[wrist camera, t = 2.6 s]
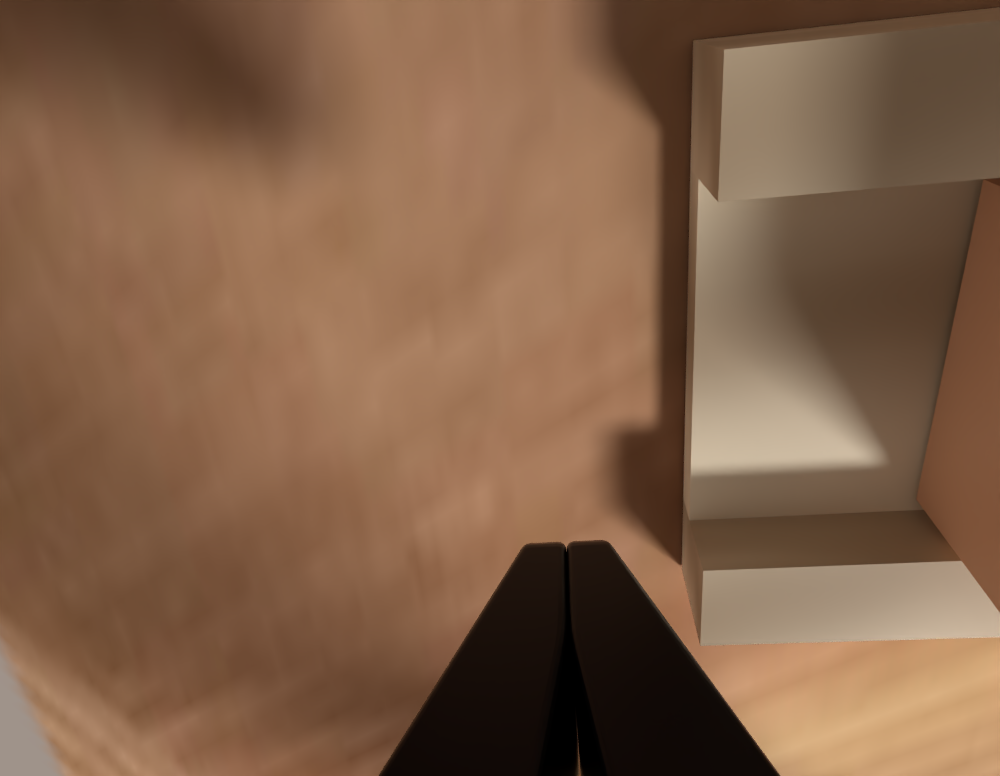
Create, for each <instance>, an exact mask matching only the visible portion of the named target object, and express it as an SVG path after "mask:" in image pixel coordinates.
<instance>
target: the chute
mask: <svg viewBox="0 0 1000 776" xmlns="http://www.w3.org/2000/svg"><path fill="white" fill-rule="evenodd" d="M993 178H1000V7H996V8H987V9H978V10H969V11H960V12H950V13H941V14H932V15H923V16H913V17H904V18H895V19H886V20H876V21H867V22H858V23H849V24H839V25H830V26H821V27H812V28H802V29H793V30H784V31H775V32H765V33H756V34H747V35H738V36H728V37H719V38H710V39H701V40H693V71H692V118H691V164H690V210H689V256H688V303H687V349H686V395H685V442H684V488H683V534H682V571H683V576H684V580H685V584H686V588H687V592H688V597H689V601H690V605H691V609H692V613H693V617H694V622H695V626H696V630H697V634H698V638H699V643H700V646H708V645H743V644H777V643H812V642H847V641H882V640H916V639H951V638H986V637H1000V612H999V611H998V610H997V608H996V607H995V606H994V604H993V603H992V601H991V600H990V599H989V597H988V596H987V595H986V593H985V592H984V591H983V589H982V588H981V587H980V585H979V584H978V583H977V581H976V580H975V578H974V577H973V576H972V574H971V573H970V572H969V570H968V569H967V568H966V566H965V565H964V564H963V562H962V561H961V559H960V558H959V557H958V555H957V554H956V553H955V551H954V550H953V549H952V547H951V546H950V545H949V543H948V542H947V540H946V539H945V538H944V536H943V535H942V534H941V532H940V531H939V530H938V528H937V527H936V526H935V524H934V523H933V521H932V520H931V519H930V517H929V516H928V515H927V513H926V512H925V511H924V509H923V508H922V507H921V505H920V504H919V502H918V501H917V500H916V497H917V493H918V488H919V483H920V478H921V474H922V469H923V464H924V459H925V454H926V450H927V445H928V440H929V435H930V431H931V426H932V421H933V416H934V412H935V407H936V402H937V397H938V393H939V388H940V383H941V378H942V374H943V369H944V364H945V359H946V355H947V350H948V345H949V340H950V335H951V331H952V326H953V321H954V316H955V312H956V307H957V302H958V297H959V293H960V288H961V283H962V278H963V274H964V269H965V264H966V259H967V255H968V250H969V245H970V240H971V236H972V231H973V226H974V221H975V216H976V212H977V207H978V202H979V197H980V193H981V188H982V183H983V179H993Z"/></svg>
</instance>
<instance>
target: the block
mask: <svg viewBox="0 0 1000 776" xmlns="http://www.w3.org/2000/svg"><path fill="white" fill-rule="evenodd" d="M916 500H917V501H918V502H919V504H920V505H921V507H922V508H923V509H924V511H925V512H926V513H927V515H928V516H929V517H930V519H931V520H932V521H933V523H934V524H935V526H936V527H937V528H938V530H939V531H940V532H941V534H942V535H943V536H944V538H945V539H946V540H947V542H948V543H949V545H950V546H951V547H952V549H953V550H954V551H955V553H956V554H957V555H958V557H959V558H960V559H961V561H962V562H963V564H964V565H965V566H966V568H967V569H968V570H969V572H970V573H971V574H972V576H973V577H974V578H975V580H976V581H977V583H978V584H979V585H980V587H981V588H982V589H983V591H984V592H985V593H986V595H987V596H988V597H989V599H990V600H991V601H992V603H993V604H994V606H995V607H996V608H997V610H998V611H999V612H1000V178H993V179H983V183H982V188H981V193H980V197H979V202H978V207H977V212H976V216H975V221H974V226H973V231H972V236H971V240H970V245H969V250H968V255H967V259H966V264H965V269H964V274H963V278H962V283H961V288H960V293H959V297H958V302H957V307H956V312H955V316H954V321H953V326H952V331H951V335H950V340H949V345H948V350H947V355H946V359H945V364H944V369H943V374H942V378H941V383H940V388H939V393H938V397H937V402H936V407H935V412H934V416H933V421H932V426H931V431H930V435H929V440H928V445H927V450H926V454H925V459H924V464H923V469H922V474H921V478H920V483H919V488H918V493H917V497H916Z"/></svg>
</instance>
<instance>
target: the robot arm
mask: <svg viewBox="0 0 1000 776" xmlns="http://www.w3.org/2000/svg"><path fill="white" fill-rule="evenodd" d="M577 732H578V734H577ZM578 744H579V757H580V769H581V776H780V775H779V773H778V772H777V771H776V769H775V768H774V766H773V765H772V764H771V762H770V761H769V760H768V758H767V757H766V756H765V754H764V753H763V751H762V750H761V749H760V747H759V746H758V745H757V743H756V742H755V741H754V739H753V738H752V736H751V735H750V734H749V732H748V731H747V730H746V728H745V727H744V725H743V724H742V723H741V721H740V720H739V719H738V717H737V716H736V715H735V713H734V712H733V710H732V709H731V708H730V706H729V705H728V704H727V702H726V701H725V700H724V698H723V697H722V695H721V694H720V693H719V691H718V690H717V689H716V687H715V686H714V685H713V683H712V682H711V680H710V679H709V678H708V676H707V675H706V674H705V672H704V671H703V670H702V668H701V667H700V665H699V664H698V663H697V661H696V660H695V659H694V657H693V656H692V654H691V653H690V652H689V650H688V649H687V648H686V646H685V645H684V644H683V642H682V641H681V639H680V638H679V637H678V635H677V634H676V633H675V631H674V630H673V629H672V627H671V626H670V624H669V623H668V622H667V620H666V619H665V618H664V616H663V615H662V614H661V612H660V611H659V609H658V608H657V607H656V605H655V604H654V603H653V601H652V600H651V598H650V597H649V596H648V594H647V593H646V592H645V590H644V589H643V588H642V586H641V585H640V583H639V582H638V581H637V579H636V578H635V577H634V575H633V574H632V573H631V571H630V570H629V568H628V567H627V566H626V564H625V563H624V562H623V560H622V559H621V558H620V556H619V555H618V553H617V552H616V551H615V549H614V548H613V547H612V545H611V544H610V543H609V542H607V541H604V540H593V541H573V542H571V543H569V544H568V546H567V552H566V547H565V545H564V544H563V543H561V542H547V543H529V544H526V545H525V546H524V547H523V548H522V549H521V550H520V552H519V554H518V555H517V557H516V558H515V560H514V562H513V563H512V565H511V566H510V568H509V569H508V571H507V573H506V574H505V576H504V577H503V579H502V581H501V582H500V584H499V585H498V587H497V589H496V590H495V592H494V593H493V595H492V596H491V598H490V600H489V601H488V603H487V604H486V606H485V608H484V609H483V611H482V612H481V614H480V615H479V617H478V619H477V620H476V622H475V623H474V625H473V627H472V628H471V630H470V631H469V633H468V635H467V636H466V638H465V639H464V641H463V642H462V644H461V646H460V647H459V649H458V650H457V652H456V654H455V655H454V657H453V658H452V660H451V662H450V663H449V665H448V666H447V668H446V669H445V671H444V673H443V674H442V676H441V677H440V679H439V681H438V682H437V684H436V685H435V687H434V689H433V690H432V692H431V693H430V695H429V696H428V698H427V700H426V701H425V703H424V704H423V706H422V708H421V709H420V711H419V712H418V714H417V715H416V717H415V719H414V720H413V722H412V723H411V725H410V727H409V728H408V730H407V731H406V733H405V735H404V736H403V738H402V739H401V741H400V742H399V744H398V746H397V747H396V749H395V750H394V752H393V754H392V755H391V757H390V758H389V760H388V762H387V763H386V765H385V766H384V768H383V769H382V771H381V773H380V774H379V776H579V763H578Z"/></svg>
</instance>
